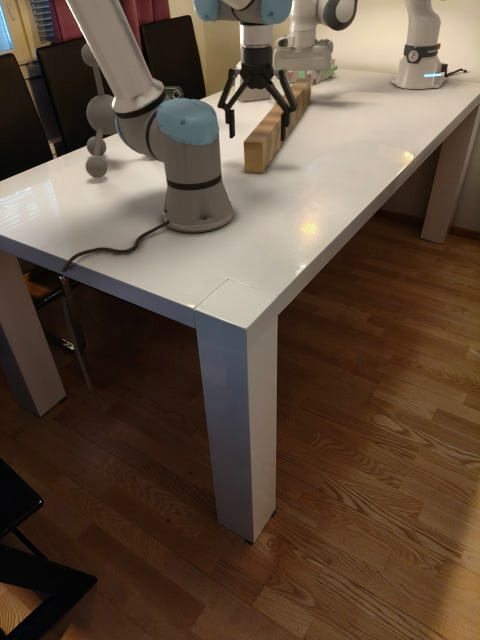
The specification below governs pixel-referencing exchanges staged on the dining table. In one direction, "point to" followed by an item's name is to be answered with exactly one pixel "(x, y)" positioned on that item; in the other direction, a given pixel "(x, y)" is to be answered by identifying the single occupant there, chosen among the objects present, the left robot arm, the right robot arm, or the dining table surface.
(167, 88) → the grenade
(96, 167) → the molecular model
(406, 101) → the dining table surface
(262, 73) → the left robot arm
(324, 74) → the white green flat box
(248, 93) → the electronic device
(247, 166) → the post
